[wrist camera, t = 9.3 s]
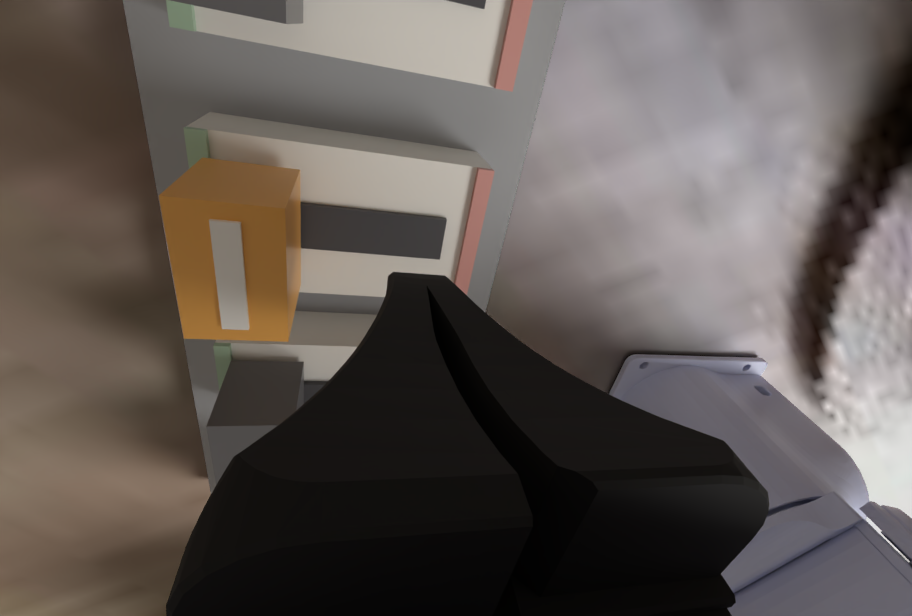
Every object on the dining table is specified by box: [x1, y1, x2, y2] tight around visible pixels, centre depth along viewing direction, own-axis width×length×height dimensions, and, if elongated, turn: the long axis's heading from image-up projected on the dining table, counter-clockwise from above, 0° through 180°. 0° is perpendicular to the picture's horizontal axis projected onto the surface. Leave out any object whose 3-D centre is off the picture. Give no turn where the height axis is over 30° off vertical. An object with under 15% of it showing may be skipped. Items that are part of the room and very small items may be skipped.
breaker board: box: [123, 0, 565, 494], centre depth 15 cm, size 12×26×7 cm, turn 169°
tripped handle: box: [159, 157, 301, 342], centre depth 11 cm, size 2×4×3 cm, turn 170°
